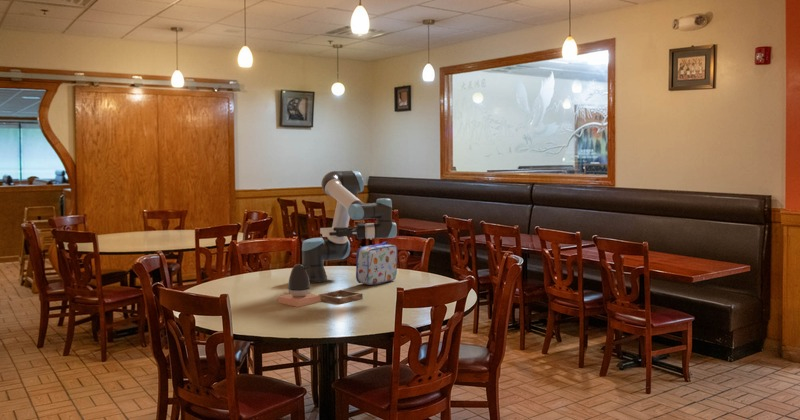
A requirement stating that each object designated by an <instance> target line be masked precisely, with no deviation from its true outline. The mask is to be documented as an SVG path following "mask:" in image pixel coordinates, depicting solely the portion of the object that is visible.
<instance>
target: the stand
mask: <svg viewBox="0 0 800 420" xmlns="http://www.w3.org/2000/svg"><path fill="white" fill-rule="evenodd" d="M321 302H322V300H321V299H320V295H318V294H313V293H311V292H310V293H309V292H308V294H307V295H305V296H303V297H294V296H292V295H291V294H290V293H289V294H283V295H279V296H277V303H278V304H283V305H288V306H293V307H296V308H298V307H303V306H308V305H313V304H317V303H321Z"/></svg>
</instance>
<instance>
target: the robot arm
mask: <svg viewBox="0 0 800 420" xmlns="http://www.w3.org/2000/svg"><path fill="white" fill-rule="evenodd" d="M364 188H365V180H364V178H363V175H362V173H361V172H360V171H357V170H352V169H351V170H339V171H338V170H333V171H330V172H328V173H326V174H325V175H324V176H323V178H322V180H321V189H322V191H323V192H324V193H325V195H327V196H329V197H331V198H333V199H335V200H336V206H335V210H334V215H333V219H332V220H333V221H332V226H331V227H320V228H319V229H320V230H319V234H320V235H322V236H321V237H313V238H308V239H305V240H303V241H302V244H301V245H302V246H301V254H302V255H301V256H302V257H301V258H302V265H303V266H304V267H306V266H308V265H310V268H308V269H306V272H307V274H308V277H309V282H310V284H319V283H325V282H327V281H328V275H327V273H326V269H325V265H324V263H325V262H327V261H329V262H330V261H335V260H336V261H340V260H344V259H346V258H347V257H348V256H349V255H350V254H351V253H350V252H351V243H350V240H349V238H348V237H355V236H356V239H357V240H362V239H363V240H364V239H366V240H368V239H369V240H370V241H372V240H373V239H391V238H396V237H397V234H398V230H397V229H398V227H397V223H396V222H393V201H392V199H391V198H385V197H384V198H377V199H376V202H372V203H371V202H370V203H365V202H363V200H360V199H359V198H358V194H359V193H362V192H363V191H364ZM369 219H370V220H371V219H373V220H375V219H376V222H369V223H368V222H367V223H365V222H364V223H356V227H354V226H349V223H350V220H353V221H355V220H357V221H360V220H369ZM324 238H326V239H324Z"/></svg>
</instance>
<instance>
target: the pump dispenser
mask: <svg viewBox="0 0 800 420" xmlns="http://www.w3.org/2000/svg"><path fill="white" fill-rule="evenodd" d="M308 268H310V265H308V266H306V267H304V266H303V264H300V263H296V264H295V265H294V266H293V267H292V268H291V272H290V274H289V278H288V284H287V285H288V287H287V289H288V291H289V294H291V295H292V296H294V297H303V296H305V295H307V294H308V293H309V292H310V289H311V283H310V282H309V277H308V274H307V272H306V269H308Z"/></svg>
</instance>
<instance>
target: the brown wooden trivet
mask: <svg viewBox="0 0 800 420" xmlns="http://www.w3.org/2000/svg"><path fill="white" fill-rule="evenodd" d="M317 295H320V299H321V302H322V301H323V302H329V303H333V304H338V305H341V304H345V303H351V302H355V301H358V300H363V298H364V297H363V295H364V294H363V293H360V292H356V291H350V290H343V289H339V290H334V291H328V292H324V293H320V294H317ZM340 296H343V297H340Z"/></svg>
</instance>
